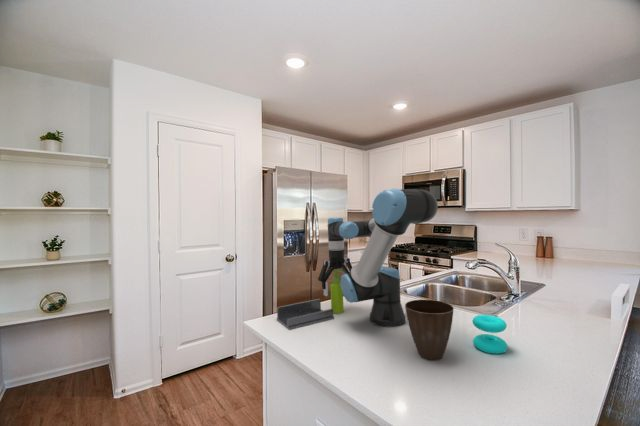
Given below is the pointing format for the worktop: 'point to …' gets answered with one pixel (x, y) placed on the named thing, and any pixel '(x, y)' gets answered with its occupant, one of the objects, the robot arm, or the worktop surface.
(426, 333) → the plant pot
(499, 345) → the donuts
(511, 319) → the worktop surface
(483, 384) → the worktop surface
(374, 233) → the robot arm
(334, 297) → the soap dispenser
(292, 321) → the track
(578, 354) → the worktop surface
